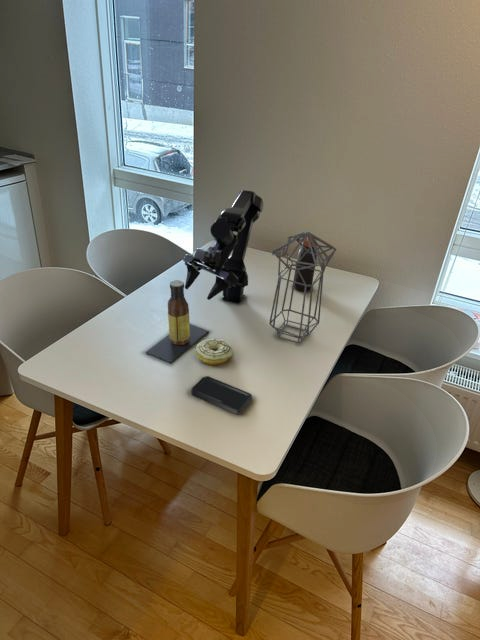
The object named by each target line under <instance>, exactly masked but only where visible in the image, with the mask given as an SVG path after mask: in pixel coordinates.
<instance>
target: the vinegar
mask: <svg viewBox="0 0 480 640" xmlns="http://www.w3.org/2000/svg"><path fill="white" fill-rule="evenodd" d="M315 241H316V242H318V240H316V239H315ZM306 242H308V238H306ZM301 243H302V244H303V242H301ZM311 244H312V241H311ZM304 246H305V247H306V248H307V249H309V246H310V245H309V244H306V243H305V244H304ZM312 249H313V252H314V253H315V254H316V251H317V250H316V251H315V249H314V246H313V244H312ZM300 250H301V248H299V250H298V251H297V257H298V256H299V253H300ZM309 251H310V252H311V249H310V250H309ZM305 252H306V250H305V249H304V248H303V250H302V253H301V256H300V258H301V257H302V256H303V255H304V253H305ZM314 256H315V255H314ZM315 259H316V260H317V259H318V257H317V256H315ZM300 262H305V263H311V264H315V263H314V259H313V256H312V254H310V253H308V252H307V254H306V255H305V256H304V257H303V258H302V259H301V261H300ZM298 265H301V266H305V267H307V266H311V265H305V264H299V263H298ZM298 268H303V267H300V266H297V269H298ZM311 268H312V269H316V266H315V267H311ZM299 271H300V273H301V275H302V277H303V279H304V281H305V283H306V285H312V284H313V282H314V275H315V270H311V269H308V268H307V269H302V270H299ZM295 282H298V283H301V284H304V283H303V281H302V279H301V277H300V275H299V273H298V271H297V273H296V279H295ZM294 290H296V291H298V292H301V293H304V290H305V286H304V285H300V284H297V283H295V285H294ZM307 292H311V287H308V286H307V288H306V293H307Z"/></svg>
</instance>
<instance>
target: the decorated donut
mask: <svg viewBox="0 0 480 640" xmlns="http://www.w3.org/2000/svg"><path fill="white" fill-rule="evenodd" d="M233 349H234V348H233V347H232V345H231V344H230V343H229V342H228V341H227V340H224V339H222V338H207V339H204V340H201V341H199V343H198V344H196V348H195V355H196V356H197V358H198V359H199V360H200V361H201V362H202V363H204V364H207V365H210V366H217V365H223V364H225V363H227V361H228V360H229V359H230V358H231V357H232V356H233V355H234V350H233Z"/></svg>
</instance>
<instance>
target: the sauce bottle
mask: <svg viewBox="0 0 480 640" xmlns="http://www.w3.org/2000/svg"><path fill="white" fill-rule="evenodd" d="M184 289H185V283H184V281H183V280H179V279H174V280H172V281H170V282H169V290H170V298H169V299H168V301H167V320H168V335H169V337H170V341H171V342H172V344H175V345H184V344H187V343H188V342H189V340H190V324H191V323H190V307H189V303H188V301H187V300H186V299H187V298H185V291H184Z"/></svg>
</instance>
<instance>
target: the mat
mask: <svg viewBox="0 0 480 640" xmlns="http://www.w3.org/2000/svg"><path fill="white" fill-rule="evenodd" d="M189 324H190V340H189V342H188V343H187V344H184V345H175V344H172V342H171V341H170V337H169V334H168V335H166V336H165V337H164V338H162V339H161V340H159V341H158V342H157V343H156V344H154V345H153V346H152V347H151V348H149V349H148V350H147V351H145V354H147V355H149V356H152V357H153V358H156V359H159V360H160V361H164V362H166V363H168V364H172V363H173V362H175V361H176V360H177V359H178V358H179V357H181V356H182V355H183V354H184V353H185V352H186V351H187V350H189V349H190V348H191V347H192V346H194V345H195V344H196V343H197V342H199V341H200V340H201V339H202V338H203V337H205V336H206V335H207V333H209V330H208V329H204V328H202V327H199V326H197V325H194V324H191V323H189Z"/></svg>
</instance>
